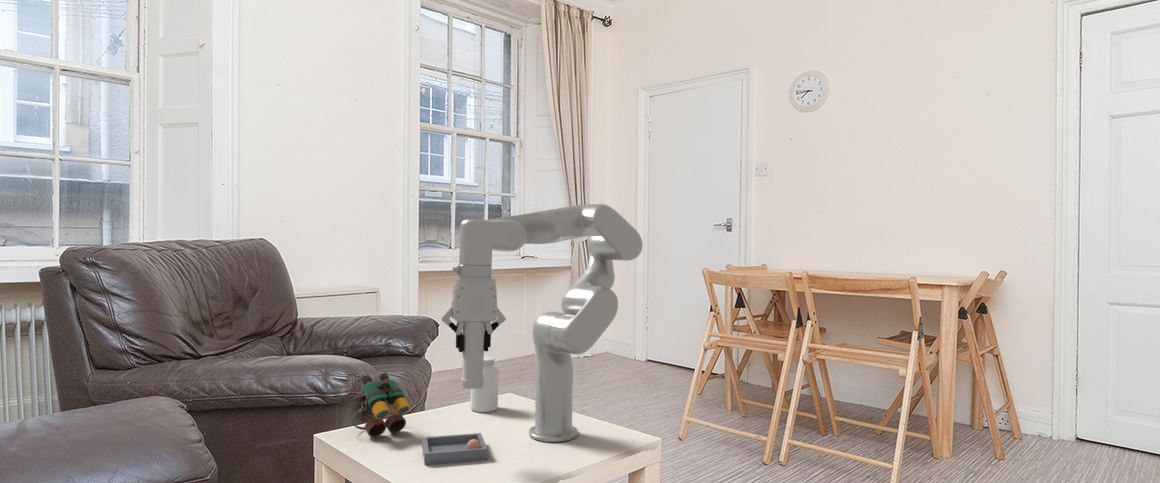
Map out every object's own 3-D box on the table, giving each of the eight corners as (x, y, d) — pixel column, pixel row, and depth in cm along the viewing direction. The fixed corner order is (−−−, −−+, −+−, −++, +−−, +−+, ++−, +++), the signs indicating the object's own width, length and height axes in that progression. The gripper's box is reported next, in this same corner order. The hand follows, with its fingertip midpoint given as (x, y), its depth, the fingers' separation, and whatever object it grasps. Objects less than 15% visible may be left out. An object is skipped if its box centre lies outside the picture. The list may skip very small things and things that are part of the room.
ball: (466, 451, 152) (466, 437, 152) (479, 450, 153) (479, 436, 153) (467, 456, 149) (467, 442, 149) (481, 454, 150) (481, 441, 150)
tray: (422, 447, 157) (422, 437, 157) (480, 443, 161) (480, 432, 161) (424, 465, 145) (424, 453, 145) (487, 459, 149) (487, 448, 149)
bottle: (458, 385, 152) (461, 278, 152) (479, 383, 154) (482, 278, 154) (465, 390, 147) (468, 279, 147) (486, 388, 150) (489, 279, 150)
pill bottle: (492, 413, 186) (493, 361, 186) (466, 411, 188) (466, 360, 188) (501, 406, 194) (502, 356, 194) (476, 404, 196) (476, 355, 195)
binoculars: (356, 452, 163) (370, 407, 156) (338, 413, 171) (350, 369, 165) (408, 440, 172) (423, 398, 166) (388, 404, 181) (401, 362, 175)
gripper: (439, 273, 145) (437, 355, 145) (515, 274, 150) (512, 352, 150) (435, 271, 152) (433, 349, 152) (507, 272, 157) (505, 347, 157)
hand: (473, 350), depth 151 cm, fingers closed on bottle, 5 cm apart
